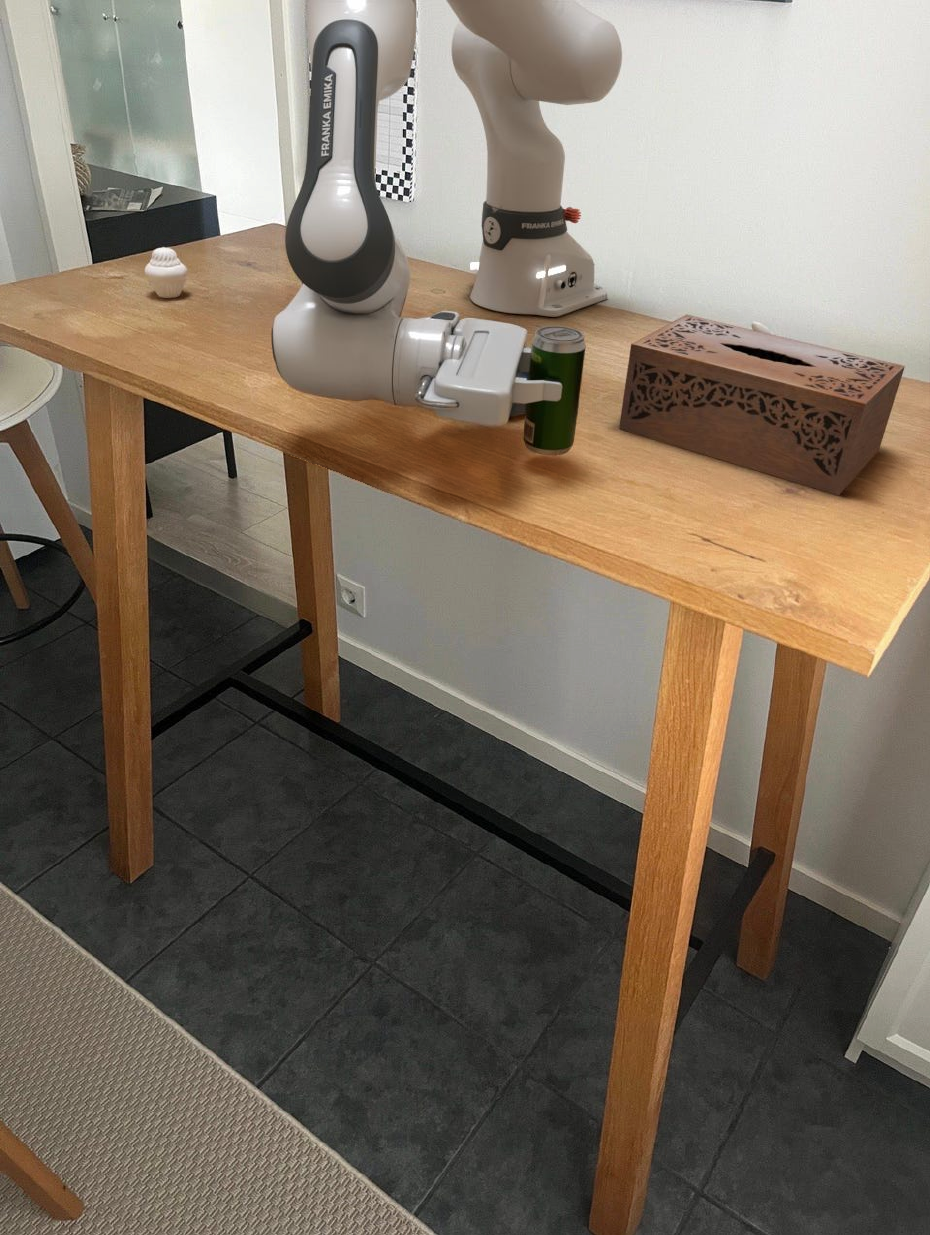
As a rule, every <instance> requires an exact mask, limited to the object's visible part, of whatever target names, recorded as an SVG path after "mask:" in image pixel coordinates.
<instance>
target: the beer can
mask: <svg viewBox="0 0 930 1235" xmlns="http://www.w3.org/2000/svg"><path fill="white" fill-rule="evenodd" d="M585 337H586V335H585V334H584V332H582V331H581V330H579V329H576V328H573V327H570V326H563V325H547V326H546V325H545V326H541V327H538V328H537V329H535V331H534V336H533V338H532V340H531V345H530V348H531V355H530V366H529V377H528V380H545V378H553V379H560V380H562V382H563V386H562V394H561V399H560V400H559V401H548V400H542V401H537V402H531V403H526V409H525V413H524V420H523V421H524V422H523V432H522V439H523V442H524V445H525V447H526V449H527V450H528V451H530V452H532V453H534V454H537V455H540V456H546V457H547V456H548V457H556V456H562V455H565V454H567V453H569V452H570V451H571V449H572V447H573V446H574V443H575V437H576V428H577V422H578V421H577V420H578V413H579V406H580V405H579V404H580V398H581V388H582V381H583V373H584V372H583V371H584V363H585V356H586V347H587V345H586V342H585Z"/></svg>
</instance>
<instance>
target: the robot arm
mask: <svg viewBox="0 0 930 1235" xmlns="http://www.w3.org/2000/svg"><path fill="white" fill-rule="evenodd" d="M445 2H446V3H447V4H448V6H449V7H450V8H451V10H452V11H453V13H454V14H455V16H456V17H457V18H458V22H457V24H456V26H455V28H454V31H453V35H452V39H451V60H452V65H453V68H454V71H455V73H456V74H457V77H458V78H459V79H460V81H461V82H462V83H463V84H464V85H465V86H466V88H467V89H468V90H469V92H470V94H471V96H472V98H473V100H474V102H475V104H476V107H477V109H478V112H479V115H480V119H481V121H482V125H483V130H484V135H485V140H486V153H487V155H486V156H487V158H486V160H487V162H486V194H485V195H486V196H485V201H484V202H483V204H482V212H481V213H482V214H481V232H482V243H481V248H480V252H479V253H480V254H479V258H478V261H476V262H470V270H476V275H475V280H474V283H473V286H472V290H471V293H470V295H469V299H470V301H471V302H473V303H474V304H475V305H477V306H479V307H482V308H485V309H487V310H490V311H494V312H501V313H507V314H516V315H517V314H518V315H534V316H535V315H537V316H541V317H549V318H550V317H552V318H556V317H561V316H563V315H567V314H569V313H572V312H574V311H577V310H580V309H583V308H585V307H589V306H592V305H593V304H597V303H599V302H602V301H605V300H607V299H608V291H607V290H606V289H605V288H603V287H601V286H600V285H598V284H596V283H595V263H594V259H593V257H592V255H591V254H590V253H589V252H588V251H587V250H586V249H585V248H584V247H583V246H582V245H581V244H580V243H579V242H578V241H577V240H576V239H575V238H574V237H573V236H572V235H571V234H570V233H569V232H568V225H567V222H570V223H572V224H577V223H579V220H581V216H582V213H581V210H580V209H578V208H573V207H572V206H568V207H566V208H563V206H562V205H561V204H562V195H563V194H562V193H563V183H564V182H563V181H564V173H565V172H564V171H565V162H566V154H565V153H566V152H565V149H564V147H563V143H562V142H561V140H560V139H559V138H558V137H557V135H556V134H554V133H553V132H552V130H550V128H548V126H547V123H546V122H545V120H544V117H543V114H542V110H541V105H540V102H543V103H549V104H555V105H556V104H557V105H563V106H573V105H584V104H592V103H597V102H600V101H602V100H603V99H605V98H606V96H607V95H608V94H609V93H610V92H611V91H612V89H613V88H614V86H615V85H616V83H617V80H618V78H619V76H620V72H621V70H622V69H621V68H622V62H623V48H622V44H621V43H622V42H621V39H620V35H619V33H618V31H617V29H616V28H615V25H614V24H613V23H611V22H610V21H608V20H606V19H604V18H602V17H601V16H599V15H597V14H595V13H593V12H592V11H590V10H588V9H587V8H586V7H584V6H582V5H581V4H580V3H579V2H577V1H576V0H445ZM417 9H418V8H417V0H306V28H307V44H308V54H309V55H308V56H309V62H310V90H309V108H308V109H309V110H308V126H307V127H308V130H307V144H306V145H307V148H306V162H305V163H306V164H305V170H304V177H303V180H302V184H301V187H300V189H299V192H298V195H297V197H296V199H295V202H294V204H293V206H292V209H291V212H290V214H289V217H288V220H287V224H286V228H285V235H284V243H285V245H284V246H285V252H286V253H285V254H286V257H287V259H288V263H289V265H290V267H291V269H292V271H293V273H294V274H295V276H296V277H297V278H298V279H299V281H301V286H300V288H299V290H298V291H297V293H296V294H295V295H294V297H293V299H291V301H290V302H289V303H288V304H287V306H286V307H285V308H284V309H283V310H282V311H281V312H279V313H277V314H276V315H275V317H274V319H273V322H272V328H271V334H270V335H271V339H270V340H271V351H272V356H273V361H274V364H275V366H276V367H275V368H276V370H277V372H278V374H279V376H280V377H281V378H282V380H283V381H284V382H285V383H286V384H287V385H288V387H290V388H292V389H293V390H295V391H297V392H300V393H304V394H306V395H311V396H315V397H320V398H325V399H331V400H332V399H333V400H341V401H349V402H362V401H368V400H376V401H381V402H384V403H387V404H388V405H391V406H395V407H405V408H415V409H424V410H433V412H434V414H435V415H437V416H439V417H441V418H444V419H447V420H452V421H457V422H463V423H468V424H474V425H480V426H481V425H482V426H486V427H487V426H489V427H498V426H503V425H506V424H507V423H508V422H509V419H510V417H509V415H510V412H511V408H512V404H513V403H522V404H526V403H531V402H537V401H542V400H548V401H559V400H560V399H561V394H562V386H563V382H562V380H560V379H553V378H545V380H528V381H527V379H526V378H520V375H521V371H523V372H529V366H530V355H531V347H527V346H528V330H527V329H526V328H524V327H522V326H519V325H518V324H514V323H509V322H505V321H504V322H503V321H498V320H490V319H485V318H484V319H483V318H475V317H465V318H461V319H460V315H459V312H456V311H452V310H441V311H439V312H436V313H434V314H433V315H430V316H428V317H427V316H426V317H419V318H412V317H402V313H403V309H404V307H405V302H406V299H407V295H408V290H409V287H410V283H411V282H410V281H411V270H410V264H409V260H408V258H407V255H406V252H405V250H404V249H403V247H402V245H401V243H400V241H399V239H398V237H397V235H396V234H395V231H394V229H393V226H392V222H391V220H390V218H389V215H388V212H387V210H386V208H385V205H384V203H383V201H382V199H381V196H380V195H379V191H378V188H377V184H376V183H377V182H376V167H377V166H376V164H377V163H376V162H377V161H376V160H377V136H378V113H379V112H378V111H379V103H380V102H381V101H383V100H386V99H388V98H389V97H392V96H393V95H395V94H397V93H398V92H399V91H400V90H401V89H402V88H403V87H404V86H405V84H406V83H407V82H408V80H409V79H410V76H411V70H412V67H413V66H412V65H413V60H414V54H415V47H416V40H417V17H418V16H417V15H418V14H417ZM302 283H303V285H302Z"/></svg>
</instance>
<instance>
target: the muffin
mask: <svg viewBox="0 0 930 1235" xmlns="http://www.w3.org/2000/svg"><path fill="white" fill-rule="evenodd" d="M144 275H145V277H146V278H147V281H148V283H149V284H150V286H151V288H152V289H153V291H155V293H156V295H157V296H158V297H159V298H164V299H172V298H173V299H174V298H178V297H180V296H181V294H182V291H183V289H184V286H185V284H186V281H187V275H188V268H187V266H186V265H185V264H183V262H181V260H180V258H178V255H177V252H176V251H175V250H174V249H173V248H170V247H165V246H162V247H158V248H155V249H154V250H153V251H152V252H151V259H150V260H149V262H148V263H147V264H146V265H145V267H144Z"/></svg>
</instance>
